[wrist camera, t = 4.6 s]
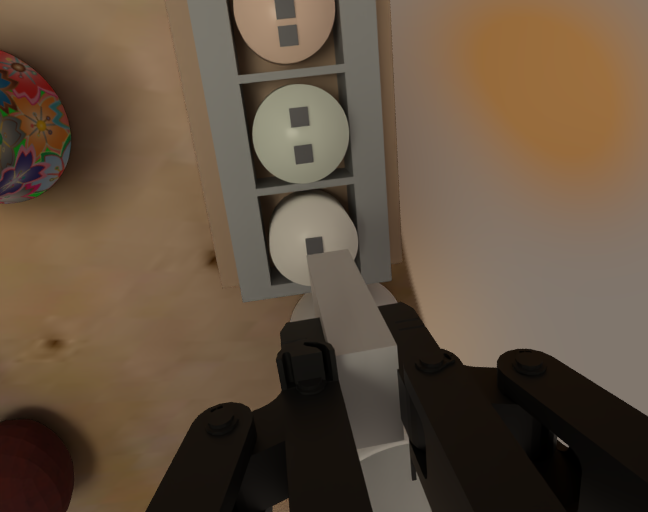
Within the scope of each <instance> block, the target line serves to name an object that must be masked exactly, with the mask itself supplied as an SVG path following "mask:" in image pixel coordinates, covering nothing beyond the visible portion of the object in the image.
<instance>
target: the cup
mask: <svg viewBox="0 0 648 512" xmlns="http://www.w3.org/2000/svg"><path fill="white" fill-rule="evenodd" d="M366 285H367V287H368V289H369V291H370V293H371V295H372V297H373V299H374V301H375V303H376V305H377V306H382V305H388V304H394V303H398V302H397V301H396V299H395V297H394V296H393V295H392V293H391V292H390V291H389V290H388V289H387V288H385V287H384V286H383V285H381V284H380V283H373V284H366ZM312 318H315V311H314V305H313V298H312V292H311V293H305V294H304V295H303V296H302V298H301V299H300V300H299V302H298V303H297V305H296V306H295V308H294V310H293V313H292V316H291V320H290V322H294V321H300V320H306V319H312ZM403 429H404V440H403V441H398V442H393V443H387V444H382V445H377V446H371V447H366V448H361V449H357V452H358V456H359V460H360V464H361V468H362V471H363V475H364V479H365V483H366V487H367V491H368V495H369V498H370V502H371V506H372V510H373V512H432V510H431V508H430V505H429V503H428V500H427V498H426V495H425V492H424V490H423V487H422V485H421V482H420V480H419V477H418V475H417V472H416V477H417V480H414V481H412V476H411V464H410V450H409V437H408V435H407V432H406V430H405V427H404V425H403Z"/></svg>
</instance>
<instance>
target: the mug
mask: <svg viewBox="0 0 648 512" xmlns="http://www.w3.org/2000/svg"><path fill="white" fill-rule="evenodd" d="M70 150H71V132H70V126H69V121H68V118H67V115H66V112H65V110H64V107H63V105H62V103H61V101H60V100H59V98H58V96H57V95H56V93H55V92H54V90H53V89H52V88H51V86H50V85H49V84H48V83H47V81H46V80H45V79H44V78H43V77H42V76H41V75H40V74H39V73H37V72H36V71H35V70H34V69H33V68H31V67H30V66H29V65H27V64H26V63H24V62H23V61H21V60H20V59H18V58H16V57H14V56H12V55H11V54H8V53H6V52H4V51H1V50H0V204H9V203H18V202H23V201H26V200H30V199H32V198H35V197H37V196H39V195H41V194H42V193H44V192H45V191H47V190H48V189H49V188H50V187H52V186H53V185H54V184H55V182H56V181H57V180H58V179H59V177H60V176H61V175H62V173H63V171H64V169H65V167H66V165H67V162H68V159H69V155H70Z"/></svg>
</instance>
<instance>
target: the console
mask: <svg viewBox="0 0 648 512" xmlns="http://www.w3.org/2000/svg"><path fill="white" fill-rule="evenodd" d="M165 5H166V10H167V15H168V20H169V25H170V30H171V35H172V40H173V45H174V50H175V55H176V60H177V65H178V70H179V75H180V80H181V85H182V90H183V95H184V100H185V105H186V110H187V115H188V120H189V125H190V130H191V135H192V140H193V145H194V150H195V155H196V160H197V165H198V170H199V175H200V180H201V185H202V190H203V195H204V200H205V205H206V210H207V215H208V220H209V225H210V230H211V235H212V240H213V245H214V250H215V255H216V260H217V265H218V270H219V275H220V280H221V285H222V288H229V287H236V286H240V289H241V295H242V300H243V302H250V301H257V300H264V299H270V298H277V297H284V296H291V295H298V294H305V293H311V292H312V291H311V286H305V285H301V284H297V283H295V282H292V281H291V280H289V279H287V278H286V277H285V276H283V275H282V274H281V273H280V272H279V270H278V269H277V268H276V266H275V264H274V262H273V260H272V257H271V253H270V243H269V222H270V218H271V215H272V212H273V210H274V209H275V207H276V206H277V204H278V203H279V202H280V201H281V200H282V199H283V198H284V197H286V196H287V195H289V194H291V193H293V192H295V191H303V190H310V189H316V190H321V191H324V192H326V193H328V194H330V195H332V196H333V197H335V198H336V199H337V200H338V201H339V202H340V204H341V205H342V206H343V208H344V210H345V211H346V213H347V214H348V216H349V217H350V219H351V221H352V222H353V224H354V226H355V228H356V231H357V236H358V250H357V254H356V257H355V259H354V262H355V264H356V266H357V268H358V270H359V272H360V274H361V276H362V277H363V279H364V281H365V283H366V284H373V283H380V282H387V281H392V277H391V264H396V263H402V243H401V222H400V201H399V180H398V160H397V138H396V117H395V97H394V75H393V54H392V35H391V34H392V33H391V12H390V0H335V17H334V22H333V26H332V29H331V32H330V34H329V36H328V38H327V40H326V41H325V43H324V44H323V45H322V46H321V48H320V49H319V50H318V51H317V52H315V53H314V54H313V55H311V56H310V57H308V58H306V59H305V60H303V61H301V62H298V63H295V64H291V65H276V64H272V63H269V62H267V61H265V60H263V59H261V58H260V57H258V56H257V55H256V54H255V53H254V52H253V51H252V50H251V49H250V48H249V47H248V46H247V44H246V43H245V41H244V39H243V37H242V35H241V33H240V31H239V29H238V26H237V23H236V20H235V16H234V8H233V0H165ZM290 84H305V85H311V86H315V87H318V88H320V89H322V90H324V91H326V92H327V93H329V94H330V95H331V96H332V97H333V98H334V99H336V100H337V102H338V103H339V104H340V106H341V107H342V109H343V111H344V113H345V115H346V118H347V121H348V126H349V143H348V147H347V150H346V153H345V156H344V157H343V159H342V161H341V162H340V164H339V165H338V167H337V168H336V169H335V170H334V171H333V172H331V173H330V174H329V175H328V176H326V177H324V178H322V179H320V180H318V181H315V182H312V183H305V184H297V183H290V182H287V181H284V180H282V179H280V178H277V177H276V176H274V175H273V174H272V173H270V172H269V171H268V170H267V169H266V168H265V167H264V165H263V164H262V163H261V161H260V160H259V158H258V156H257V154H256V151H255V148H254V144H253V136H252V132H253V123H254V119H255V116H256V112H257V110H258V108H259V106H260V104H261V103H262V101H263V100H264V99H265V98H266V96H268V95H269V94H270V93H271V92H272V91H274V90H275V89H277V88H279V87H282V86H285V85H290Z"/></svg>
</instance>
